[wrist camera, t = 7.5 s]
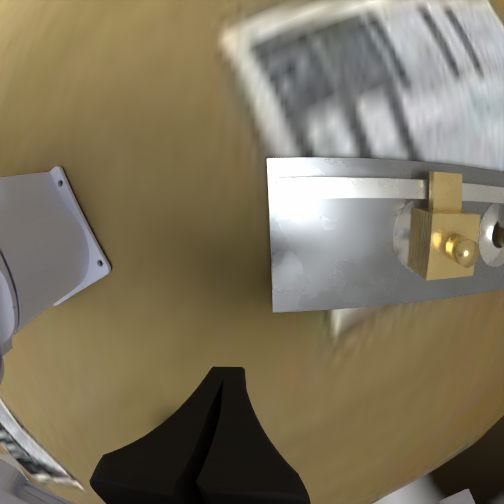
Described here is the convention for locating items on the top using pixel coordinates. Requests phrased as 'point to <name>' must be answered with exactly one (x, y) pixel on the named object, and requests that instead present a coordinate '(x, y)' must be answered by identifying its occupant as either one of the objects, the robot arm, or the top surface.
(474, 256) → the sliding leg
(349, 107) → the top surface
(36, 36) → the top surface
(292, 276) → the bolt plate
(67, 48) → the top surface
